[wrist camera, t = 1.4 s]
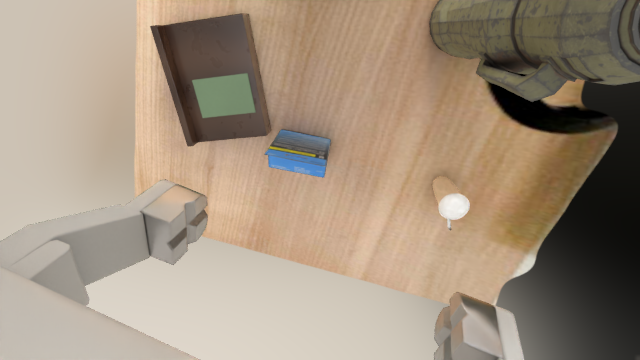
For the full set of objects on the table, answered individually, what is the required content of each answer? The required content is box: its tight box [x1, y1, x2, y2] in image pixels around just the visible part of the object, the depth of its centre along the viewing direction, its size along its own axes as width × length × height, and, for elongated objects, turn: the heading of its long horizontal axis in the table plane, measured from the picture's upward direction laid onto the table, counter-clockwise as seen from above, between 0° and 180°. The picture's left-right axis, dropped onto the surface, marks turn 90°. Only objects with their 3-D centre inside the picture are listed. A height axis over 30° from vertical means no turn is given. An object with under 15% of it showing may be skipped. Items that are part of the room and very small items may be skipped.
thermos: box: [429, 0, 640, 102], centre depth 30 cm, size 9×12×35 cm
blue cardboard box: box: [265, 130, 331, 177], centre depth 50 cm, size 9×4×12 cm, turn 80°
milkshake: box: [432, 176, 470, 230], centre depth 52 cm, size 4×5×10 cm
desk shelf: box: [150, 14, 271, 146], centre depth 51 cm, size 18×13×5 cm
